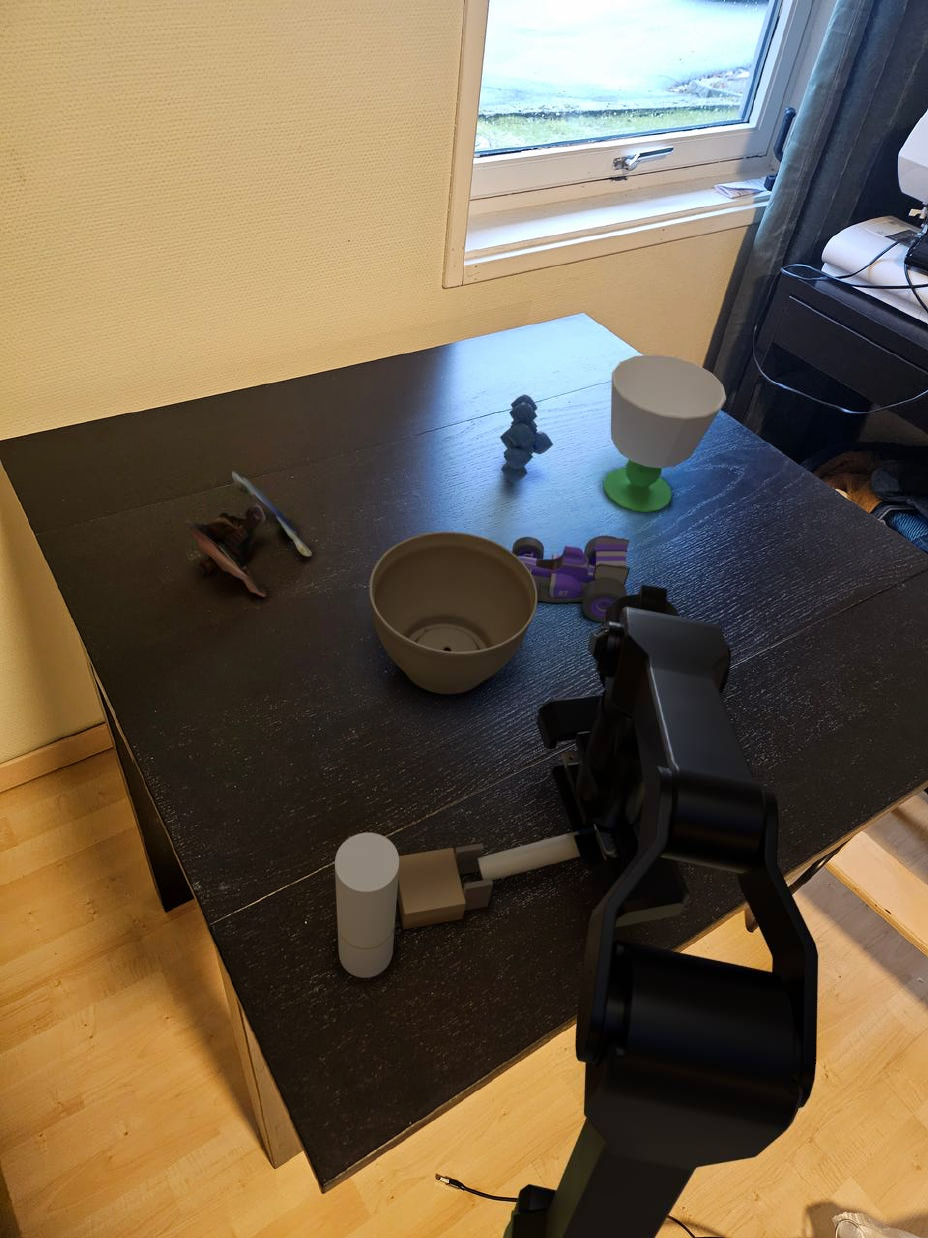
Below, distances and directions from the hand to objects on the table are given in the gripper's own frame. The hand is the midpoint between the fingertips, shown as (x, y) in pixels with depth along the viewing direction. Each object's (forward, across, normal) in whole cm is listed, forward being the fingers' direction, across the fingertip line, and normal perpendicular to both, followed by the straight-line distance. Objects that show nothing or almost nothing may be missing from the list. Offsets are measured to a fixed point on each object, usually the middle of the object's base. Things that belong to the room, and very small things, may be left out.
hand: (586, 852), depth 72 cm
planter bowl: (+3, +25, +7) cm, 26 cm away
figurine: (+3, +43, +25) cm, 50 cm away
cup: (+3, +50, -24) cm, 56 cm away
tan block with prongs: (+3, 0, +12) cm, 13 cm away
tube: (+3, -4, +19) cm, 20 cm away
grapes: (+3, +54, -9) cm, 55 cm away
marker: (0, 0, +4) cm, 4 cm away
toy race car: (+3, +34, -8) cm, 35 cm away
